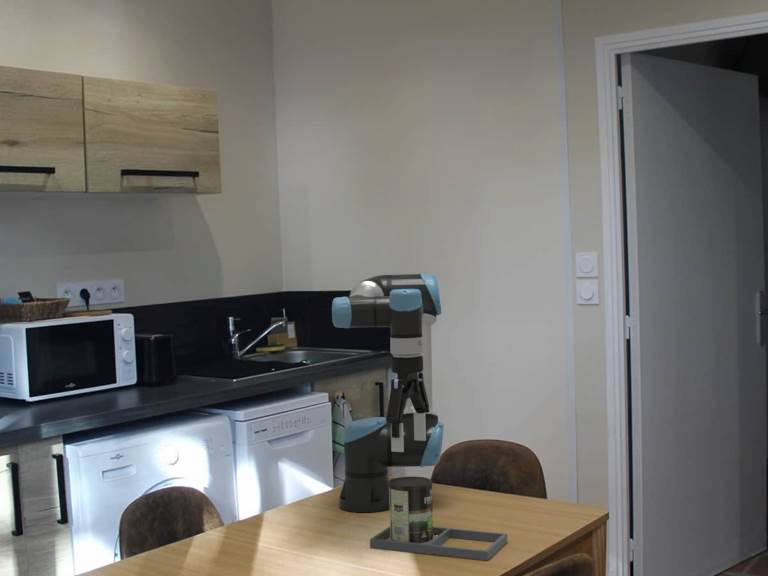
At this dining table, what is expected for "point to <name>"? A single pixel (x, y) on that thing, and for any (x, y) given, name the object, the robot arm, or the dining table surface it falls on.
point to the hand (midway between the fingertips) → (409, 445)
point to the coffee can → (411, 509)
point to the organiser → (443, 535)
